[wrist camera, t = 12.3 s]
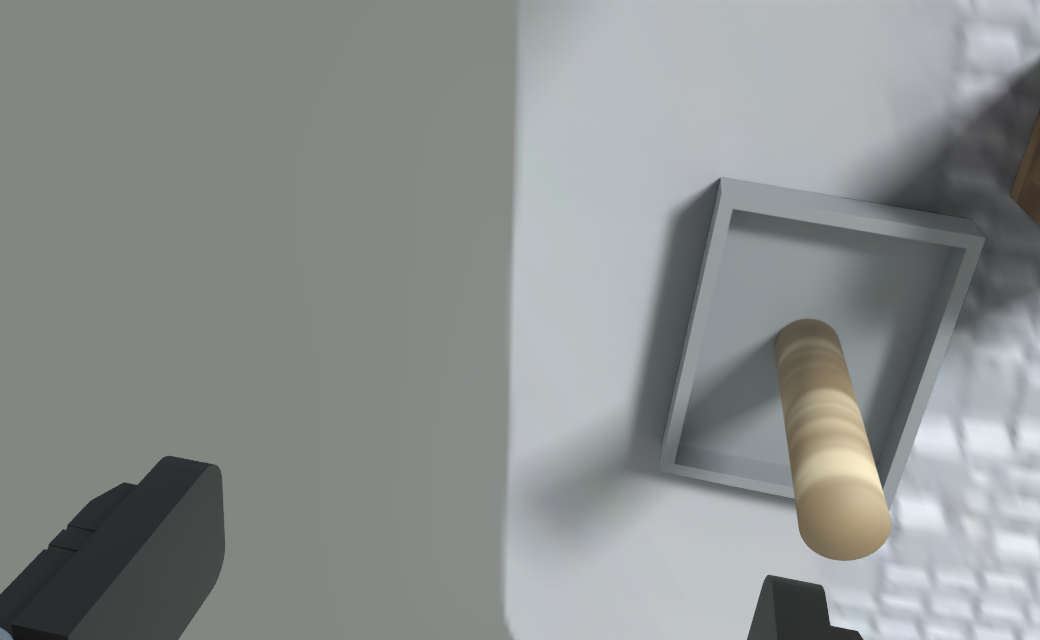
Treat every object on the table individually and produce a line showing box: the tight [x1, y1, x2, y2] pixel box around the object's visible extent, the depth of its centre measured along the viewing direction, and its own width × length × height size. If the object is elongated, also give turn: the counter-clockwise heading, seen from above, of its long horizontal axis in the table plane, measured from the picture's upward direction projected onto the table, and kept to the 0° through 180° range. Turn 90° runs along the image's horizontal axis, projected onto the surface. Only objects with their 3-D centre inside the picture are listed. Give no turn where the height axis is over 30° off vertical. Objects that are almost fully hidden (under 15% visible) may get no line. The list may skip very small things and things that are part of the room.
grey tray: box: [660, 178, 986, 511], centre depth 44 cm, size 14×11×2 cm
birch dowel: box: [774, 319, 891, 561], centre depth 39 cm, size 3×3×14 cm
